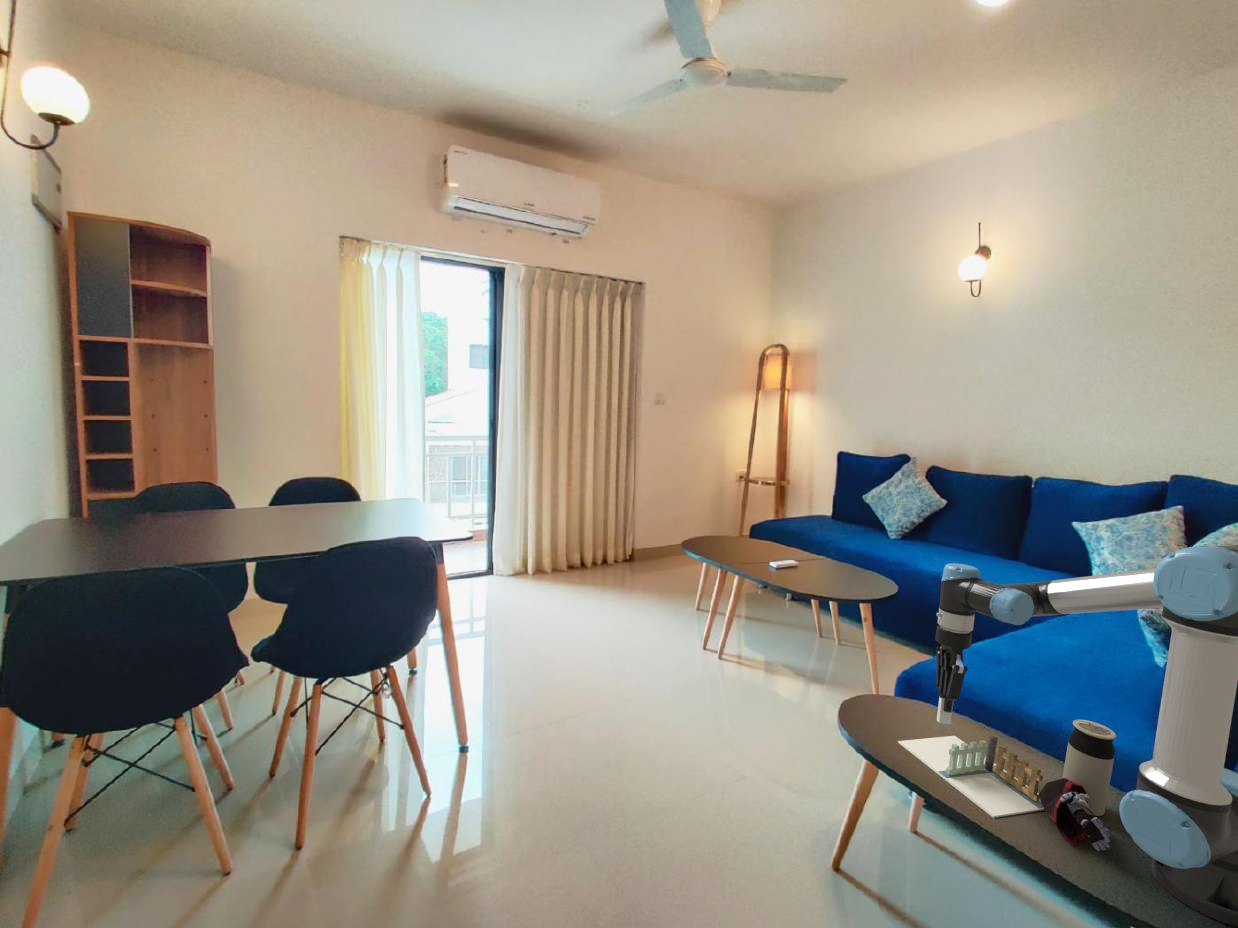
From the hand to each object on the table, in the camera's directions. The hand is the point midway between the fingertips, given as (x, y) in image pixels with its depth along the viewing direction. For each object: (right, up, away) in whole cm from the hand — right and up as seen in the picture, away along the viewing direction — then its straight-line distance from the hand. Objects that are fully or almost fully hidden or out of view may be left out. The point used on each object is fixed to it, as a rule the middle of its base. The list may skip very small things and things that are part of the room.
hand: (943, 722), depth 145 cm
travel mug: (+23, -13, -13) cm, 30 cm away
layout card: (+4, -10, -4) cm, 12 cm away
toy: (+14, -13, -22) cm, 29 cm away
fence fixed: (+11, -11, -8) cm, 18 cm away
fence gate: (+2, -9, -5) cm, 11 cm away
